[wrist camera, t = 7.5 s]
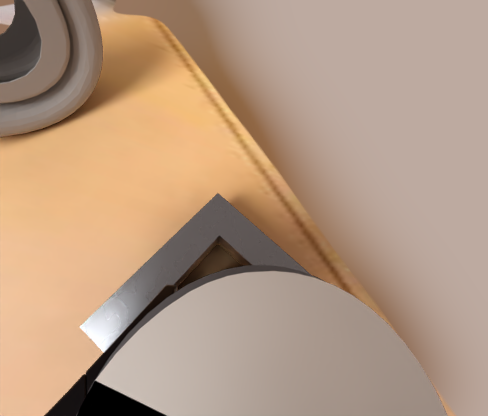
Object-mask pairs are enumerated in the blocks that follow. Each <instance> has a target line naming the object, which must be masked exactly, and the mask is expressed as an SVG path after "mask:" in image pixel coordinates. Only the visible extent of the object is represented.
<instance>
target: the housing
mask: <svg viewBox="0 0 488 416" xmlns="http://www.w3.org/2000/svg"><path fill="white" fill-rule="evenodd" d="M217 244H219V245H220V246H221V247H222V248H223V249H224V250H225V251H226V252H228V253H229V254H230V255H231V256H232V257H233V258H234V259H235V260H236V261H237V262H239V263H240V264H241V265H242V266H250V265H271V266H281V267H286V268H290V269H295V270H299V271H302V272H305V273H307V274H310V273H308V272H307V271H306V270H305V269H304V268H303V267H302V266H300V265H299V264H298V263H297V262H296V261H295V260H294V259H292V258H291V257H290V256H289V255H288V254H287V253H286V252H284V251H283V250H282V249H281V248H280V247H279V246H278V245H277V244H275V243H274V242H273V241H272V240H271V239H270V238H269V237H267V236H266V235H265V234H264V233H263V232H262V231H261V230H259V229H258V228H257V227H256V226H255V225H254V224H253V223H251V222H250V221H249V220H248V219H247V218H246V217H245V216H243V215H242V214H241V213H240V212H239V211H238V210H237V209H235V208H234V207H233V206H232V205H231V204H230V203H229V202H228V201H226V200H225V199H224V198H223V197H222V196H221V195H220V194H218V193H217V194H216V195H215V196H214V197H213V198H212V199H211V200H210V201H209V202H208V203H207V204H206V205H205V206H204V207H203V208H202V209H201V210H200V211H199V212H198V213H197V214H196V215H195V216H194V217H193V218H192V219H191V220H190V221H189V222H187V223H186V224H185V225H184V226H183V227H182V228H181V229H180V230H179V231H178V232H177V233H176V234H175V235H174V236H173V237H172V238H171V239H170V240H169V241H168V242H167V243H166V244H165V245H164V246H163V247H162V248H161V249H160V250H159V251H157V252H156V253H155V254H154V255H153V256H152V257H151V258H150V259H149V260H148V261H147V262H146V263H145V264H144V265H143V266H142V267H141V268H140V269H139V270H138V271H137V272H136V273H135V274H134V275H133V276H132V277H131V278H130V279H129V280H127V281H126V282H125V283H124V284H123V285H122V286H121V287H120V288H119V289H118V290H117V291H116V292H115V293H114V294H113V295H112V296H111V297H110V298H109V299H108V300H107V301H106V302H105V303H104V304H103V305H102V306H101V307H100V308H99V309H97V310H96V311H95V312H94V313H93V314H92V315H91V316H90V317H89V318H88V319H87V320H86V321H85V322H84V323H83V324H82V325H81V326H80V328H81V329H82V330H83V331H84V332H85V333H86V334H87V335H88V336H89V337H90V338H91V339H92V340H93V342H94V343H95V344H96V345H97V346H98V347H99V348H100V349H101V350H102V351H103V352H105V351H106V350H107V349H108V348H109V346H110V345H111V344H112V343H113V342H114V341H115V340H116V339H117V338H118V337H119V336H120V335H121V333H122V332H123V331H124V330H125V329H126V328H127V327H128V326H129V325H130V324H131V323H132V322H133V320H134V319H135V318H136V317H137V316H138V315H139V314H140V313H141V312H142V311H143V310H144V309H145V307H146V306H147V305H148V304H149V303H150V302H151V301H152V300H153V299H154V298H155V297H156V296H157V294H158V293H159V292H160V291H161V290H162V289H163V288H164V287H165V286H166V285H176V286H177V288H178V286H179V285H180V284H181V283H182V282H183V281H184V280H185V279H186V278H187V277H188V276H189V274H190V273H191V272H192V271H193V270H194V269H195V268H196V267H197V266H198V265H199V264H200V262H201V261H202V260H203V259H204V258H205V257H206V256H207V255H208V254H209V253H210V252H211V250H212V249H213V248H214V247H215V246H216V245H217ZM310 275H311V274H310Z"/></svg>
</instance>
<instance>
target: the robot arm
mask: <svg viewBox="0 0 488 416" xmlns="http://www.w3.org/2000/svg"><path fill="white" fill-rule="evenodd" d="M175 292H177V286H176V285H166V286H165V287H164V288H163V289H162V290H161V291H160V292H159V293H158V294H157V296H156V297H155V298H154V299H153V300H152V301H151V302H150V303H149V304H148V305H147V306H146V307H145V309H144V310H143V311H142V312H141V313H140V314H139V315H138V316H137V317H136V318H135V319H134V320H133V322H132V323H131V324H130V325H129V326H128V327H127V328H126V329H125V330H124V331H123V332H122V333H121V335H120V336H119V337H118V338H117V339H116V340H115V341H114V342H113V343H112V344H111V345H110V346H109V348H108V349H107V350H106V351H105V352H104V353H103V354H102V355H101V356H100V357H99V358H98V359H97V361H96V362H95V363H94V364H93V365H92V366H91V367H90V368H89V369H88V370H87V371H86V374H84V375H82V377H81V378H80V379H79V380H78V381H77V382H76V383H75V384H74V385H73V386H72V387H71V389H70V390H69V391H68V392H67V393H66V394H65V395H64V396H63V397H62V398H61V399H60V400H59V401H58V402H57V403H56V404H55V405H54V406H53V407H52V408H51V409H50V410H49V412H48V413H46V414H45V415H44V416H76V415H77V413H78V411H79V409H80V407H81V405H82V403H83V401H84V399H85V398H86V396H87V394H88V392H89V390H90V388H91V386H92V384H93V382H94V381H95V379H96V378H97V376H98V374H99V373H100V371H101V370H102V368H103V367H104V365H105V364H106V362H107V360H108V359H109V357H110V356H111V355H112V353H113V352H114V351H115V350H116V348H117V347H118V346H119V344H120V343H121V342H122V341H123V339H124V338H125V337H126V336H127V334H128V333H129V332H130V331H131V330H132V329H133V328H134V327H135V326H136V325H137V324H138V323H139V322H140V321H141V320H142V319H143V318H144V317H145V316H146V315H147V314H148V313H149V312H150V311H151V310H153V309H154V308H155V307H156V306H157V305H159V304H160V303H161V302H162V301H164V300H165V299H166V298H167V297H169V296H170V295H172V294H174V293H175Z"/></svg>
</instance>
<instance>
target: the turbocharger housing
mask: <svg viewBox="0 0 488 416" xmlns="http://www.w3.org/2000/svg"><path fill="white" fill-rule="evenodd" d="M14 5H15V15H14V18H13V21H12V24H11V25H10V26H9V28H8V29H7V30H6V31H5V32H4V33H2V34H0V137H4V136H10V135H16V134H23V133H27V132H31V131H35V130H38V129H42V128H45V127H47V126H50V125H52V124H55V123H57V122H59V121H61V120H63V119H64V118H66V117H68V116H69V115H71V114H73V113H74V112H75V111H76V110H77V109H78V108H79V107H81V106H82V105H83V104H84V103H85V102H86V100H87V99H88V98H89V96H90V95H91V94H92V92H93V90H94V89H95V87H96V84H97V82H98V79H99V76H100V73H101V68H102V60H103V46H102V37H101V31H100V27H99V23H98V19H97V15H96V12H95V9H94V6H93V3H92V1H91V0H14Z"/></svg>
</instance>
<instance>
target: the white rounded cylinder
mask: <svg viewBox="0 0 488 416" xmlns="http://www.w3.org/2000/svg"><path fill="white" fill-rule="evenodd" d="M76 416H448V415H447V413H446V411H445V409H444V407H443V405H442V403H441V400H440V398H439V396H438V394H437V392H436V390H435V388H434V386H433V385H432V383H431V381H430V380H429V378H428V376H427V375H426V373H425V371H424V369H423V368H422V366H421V364H420V363H419V362H418V360H417V359H416V357H415V356H414V355H413V353H412V352H411V351H410V349H409V348H408V346H407V345H406V344H405V342H404V341H403V340H402V339H401V338H400V337H399V336H398V334H397V333H396V332H395V331H394V330H393V329H392V328H391V327H390V325H389V324H388V323H386V322H385V321H384V320H383V319H382V318H381V317H380V316H379V315H378V314H377V313H376V312H374V311H373V310H372V309H371V308H370V307H368V306H367V305H366V304H364V303H363V302H361V301H360V300H359V299H357V298H356V297H354V296H353V295H351V294H349V293H347V292H346V291H344V290H342V289H340V288H338V287H336V286H335V285H332V284H330V283H327V282H325V281H323V280H321V279H319V278H317V277H315V276H312V275H310V274H307V273H305V272H302V271H299V270H295V269H290V268H286V267H281V266H271V265H250V266H241V267H236V268H230V269H225V270H222V271H219V272H216V273H213V274H210V275H207V276H205V277H203V278H201V279H198V280H196V281H194V282H192V283H190V284H188V285H186V286H185V287H183V288H181V289H180V290H178V291H177V292H175V293H174V294H172V295H170V296H169V297H167V298H166V299H165V300H164V301H162V302H161V303H160V304H159V305H157V306H156V307H155V308H154V309H153V310H151V311H150V312H149V313H148V314H147V315H146V316H145V317H144V318H143V319H142V320H141V321H140V322H139V323H138V324H137V325H136V326H135V327H134V328H133V329H132V330H131V331H130V332H129V333H128V334H127V336H126V337H125V338H124V339H123V341H122V342H121V343H120V344H119V346H118V347H117V348H116V350H115V351H114V352H113V353H112V355H111V356H110V357H109V359H108V360H107V362H106V364H105V365H104V367H103V368H102V370H101V371H100V373H99V374H98V376H97V378H96V379H95V381H94V382H93V384H92V386H91V388H90V390H89V392H88V394H87V396H86V398H85V399H84V401H83V403H82V405H81V407H80V409H79V411H78V413H77V415H76Z"/></svg>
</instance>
